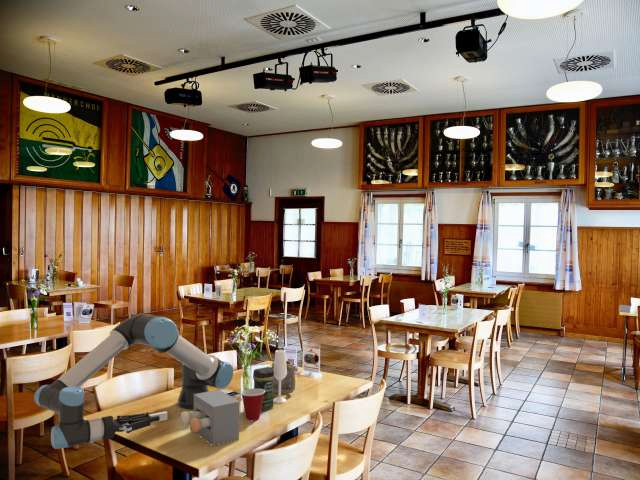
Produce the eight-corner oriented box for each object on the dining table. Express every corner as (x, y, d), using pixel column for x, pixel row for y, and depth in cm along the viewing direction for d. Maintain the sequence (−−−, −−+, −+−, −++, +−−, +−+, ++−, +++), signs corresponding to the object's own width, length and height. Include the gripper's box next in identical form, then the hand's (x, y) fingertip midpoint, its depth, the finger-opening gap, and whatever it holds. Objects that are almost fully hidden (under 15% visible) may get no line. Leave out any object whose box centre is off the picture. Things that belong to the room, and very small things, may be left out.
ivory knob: (180, 423, 196) (180, 410, 196) (207, 417, 203) (207, 404, 203) (185, 427, 192) (185, 414, 192) (212, 421, 199) (213, 408, 199)
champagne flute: (273, 403, 237) (274, 352, 237) (271, 398, 244) (272, 349, 244) (287, 402, 239) (288, 352, 238) (285, 397, 245) (286, 349, 245)
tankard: (265, 388, 260) (266, 359, 260) (286, 384, 267) (287, 356, 267) (284, 399, 243) (284, 368, 243) (306, 395, 250) (306, 365, 250)
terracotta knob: (189, 430, 190) (189, 416, 190) (216, 423, 197) (216, 410, 197) (194, 435, 186) (194, 421, 186) (222, 428, 193) (222, 414, 193)
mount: (193, 431, 202) (193, 394, 202) (218, 425, 209) (218, 389, 209) (212, 446, 188) (213, 407, 188) (238, 439, 195) (239, 401, 194)
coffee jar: (259, 412, 224) (260, 371, 224) (249, 407, 230) (250, 367, 230) (276, 407, 231) (277, 368, 231) (266, 403, 237) (267, 364, 237)
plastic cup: (253, 411, 225) (253, 385, 225) (269, 417, 218) (270, 390, 218) (234, 418, 217) (235, 391, 217) (251, 424, 210) (252, 396, 210)
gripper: (96, 433, 181) (160, 420, 195) (105, 445, 170) (172, 430, 185) (96, 412, 181) (160, 400, 195) (106, 423, 170) (173, 410, 185)
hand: (166, 415), depth 190 cm, fingers closed
